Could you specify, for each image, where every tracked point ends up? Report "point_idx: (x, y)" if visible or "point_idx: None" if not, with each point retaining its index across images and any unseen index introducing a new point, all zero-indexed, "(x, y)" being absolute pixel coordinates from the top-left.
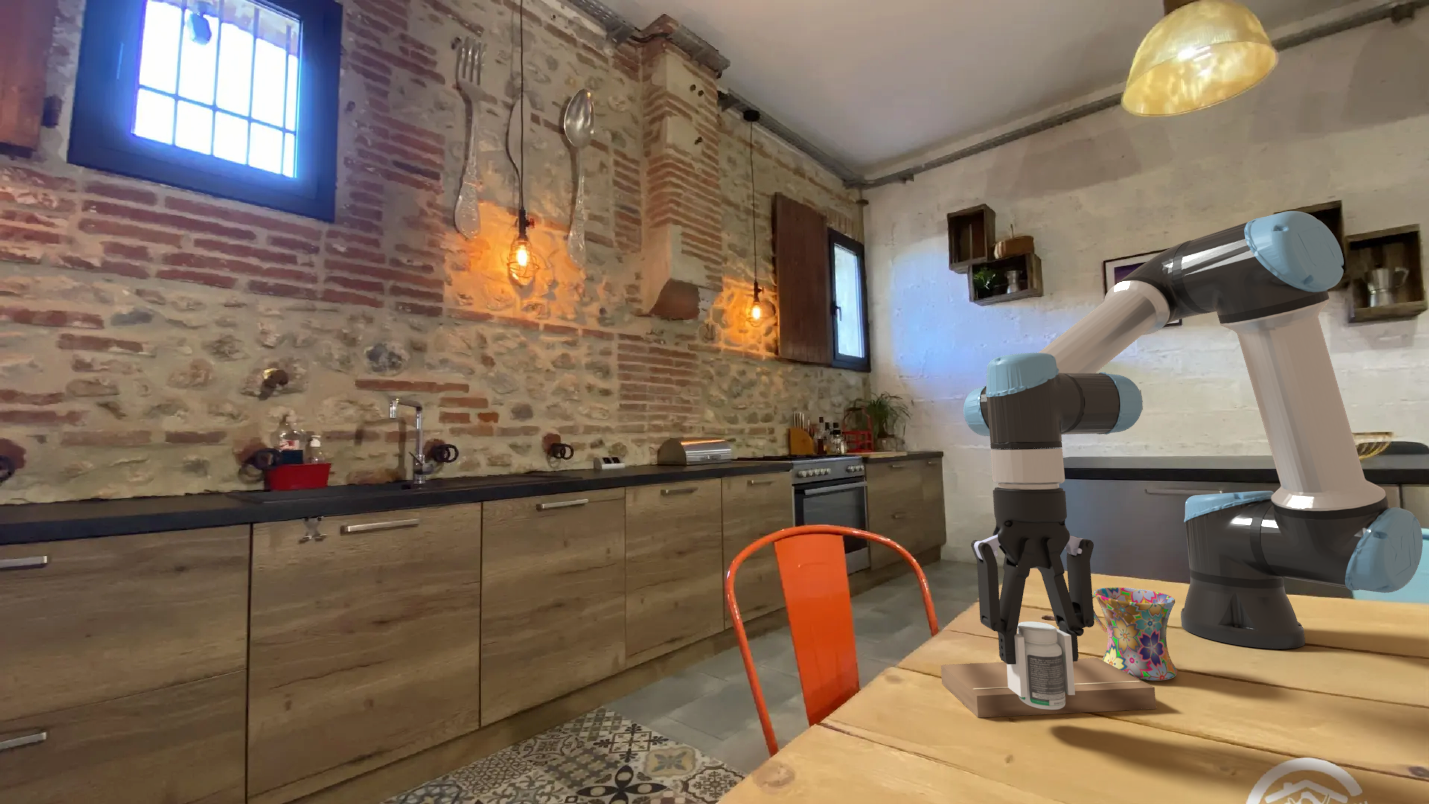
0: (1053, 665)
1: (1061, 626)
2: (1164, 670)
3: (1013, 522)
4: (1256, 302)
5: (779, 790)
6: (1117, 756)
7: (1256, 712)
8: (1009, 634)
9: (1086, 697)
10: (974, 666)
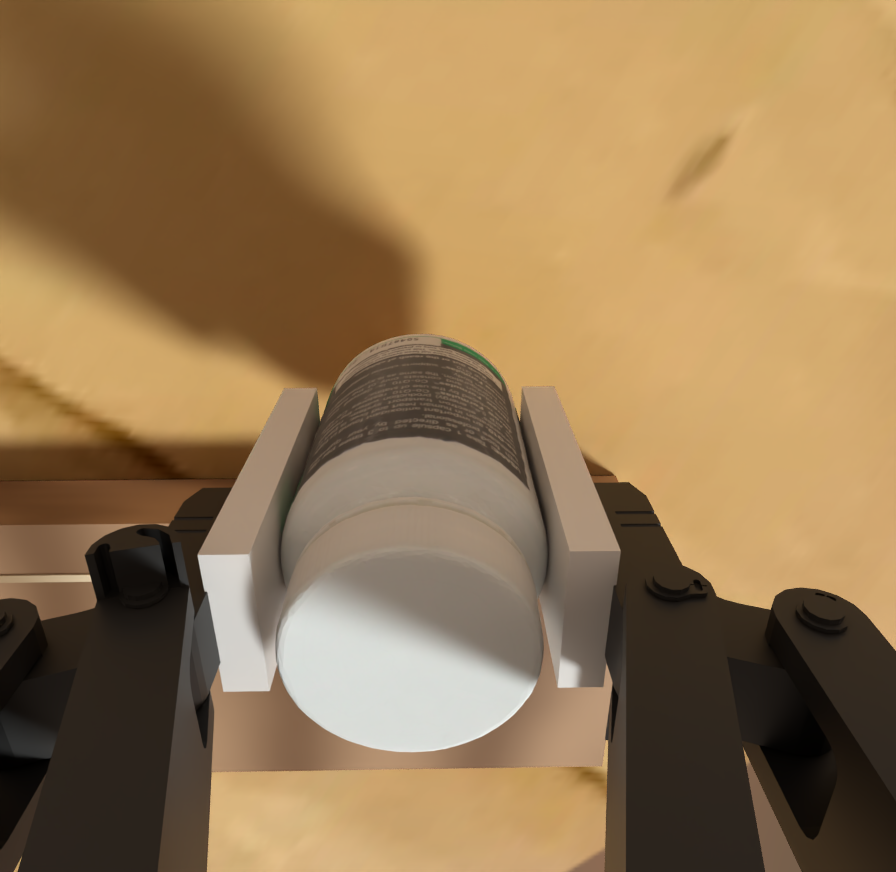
0: (399, 414)
1: (206, 662)
2: None
3: None
4: None
5: None
6: (263, 139)
7: None
8: (684, 570)
9: (163, 509)
10: (481, 745)
